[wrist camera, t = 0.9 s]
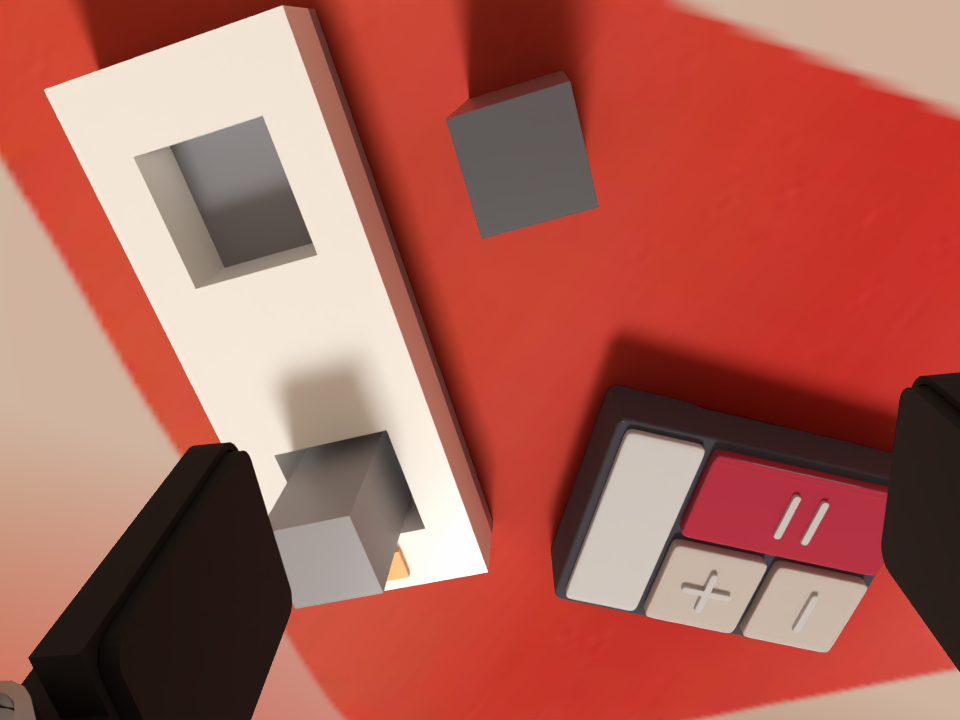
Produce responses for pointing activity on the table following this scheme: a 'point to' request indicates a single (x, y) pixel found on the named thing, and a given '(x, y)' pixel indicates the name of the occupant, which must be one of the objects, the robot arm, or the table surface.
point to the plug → (523, 155)
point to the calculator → (721, 521)
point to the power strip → (278, 265)
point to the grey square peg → (341, 519)
